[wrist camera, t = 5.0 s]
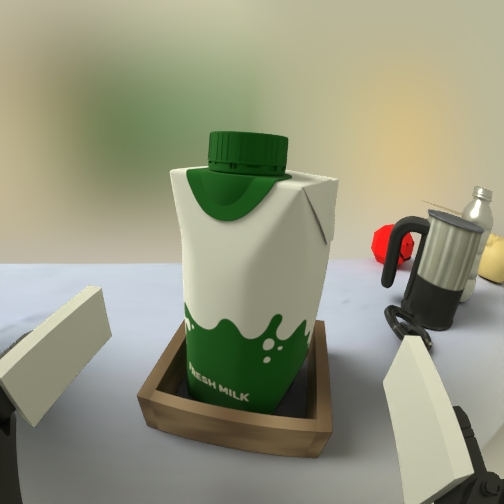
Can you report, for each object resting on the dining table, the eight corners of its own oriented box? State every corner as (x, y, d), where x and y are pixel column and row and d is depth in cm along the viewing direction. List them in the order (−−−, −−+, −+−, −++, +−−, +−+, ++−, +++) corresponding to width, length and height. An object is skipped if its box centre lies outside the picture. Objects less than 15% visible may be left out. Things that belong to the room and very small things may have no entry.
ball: (394, 273, 48) (404, 235, 45) (363, 258, 54) (371, 223, 52) (411, 266, 52) (420, 232, 49) (383, 253, 58) (390, 221, 56)
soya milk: (172, 396, 21) (155, 132, 13) (229, 344, 28) (241, 138, 21) (265, 445, 17) (320, 137, 10) (308, 374, 24) (354, 150, 17)
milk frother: (441, 302, 38) (467, 217, 33) (476, 362, 24) (524, 252, 18) (367, 291, 41) (388, 198, 36) (381, 357, 27) (425, 227, 21)
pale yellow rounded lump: (478, 265, 57) (489, 228, 53) (510, 284, 46) (523, 244, 42) (462, 269, 53) (474, 227, 49) (498, 291, 42) (513, 245, 38)
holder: (147, 425, 17) (136, 395, 16) (196, 332, 29) (195, 302, 28) (316, 458, 16) (332, 432, 14) (316, 351, 28) (324, 320, 26)
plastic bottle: (445, 303, 38) (477, 186, 30) (435, 286, 44) (461, 181, 36) (473, 308, 36) (506, 196, 29) (461, 291, 42) (488, 190, 35)
